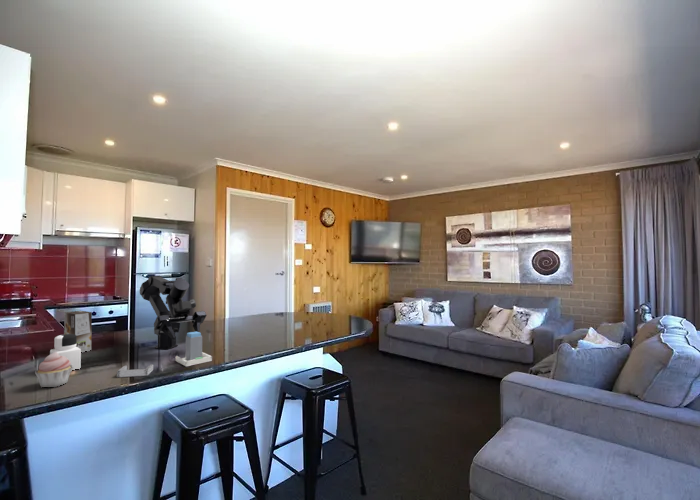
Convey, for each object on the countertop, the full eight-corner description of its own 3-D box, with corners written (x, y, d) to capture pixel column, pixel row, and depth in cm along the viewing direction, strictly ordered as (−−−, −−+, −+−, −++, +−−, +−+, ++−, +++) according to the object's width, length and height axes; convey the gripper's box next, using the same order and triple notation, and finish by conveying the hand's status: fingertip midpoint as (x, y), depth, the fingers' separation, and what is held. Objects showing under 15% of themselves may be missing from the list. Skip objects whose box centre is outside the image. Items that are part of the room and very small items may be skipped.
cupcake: (81, 379, 115) (81, 348, 115) (55, 390, 106) (56, 356, 106) (53, 379, 115) (53, 347, 116) (25, 390, 106) (25, 356, 106)
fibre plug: (185, 359, 136) (185, 332, 136) (196, 357, 139) (197, 331, 139) (190, 362, 133) (190, 334, 133) (202, 359, 136) (202, 332, 136)
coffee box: (92, 350, 149) (92, 311, 150) (74, 354, 144) (75, 314, 144) (80, 347, 154) (80, 310, 154) (62, 351, 148) (63, 312, 148)
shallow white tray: (124, 371, 123) (124, 365, 123) (153, 369, 125) (153, 364, 125) (116, 377, 117) (116, 371, 117) (147, 375, 119) (147, 369, 119)
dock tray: (175, 360, 136) (175, 355, 136) (200, 355, 143) (200, 350, 143) (186, 366, 129) (186, 360, 129) (211, 360, 136) (212, 355, 136)
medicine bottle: (74, 365, 130) (75, 331, 130) (80, 369, 125) (81, 334, 125) (49, 370, 124) (50, 335, 124) (54, 374, 120) (55, 338, 120)
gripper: (157, 295, 137) (167, 328, 130) (205, 291, 151) (216, 322, 143) (149, 312, 143) (159, 346, 135) (196, 307, 156) (207, 338, 149)
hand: (186, 337), depth 141 cm, fingers open, 9 cm apart
